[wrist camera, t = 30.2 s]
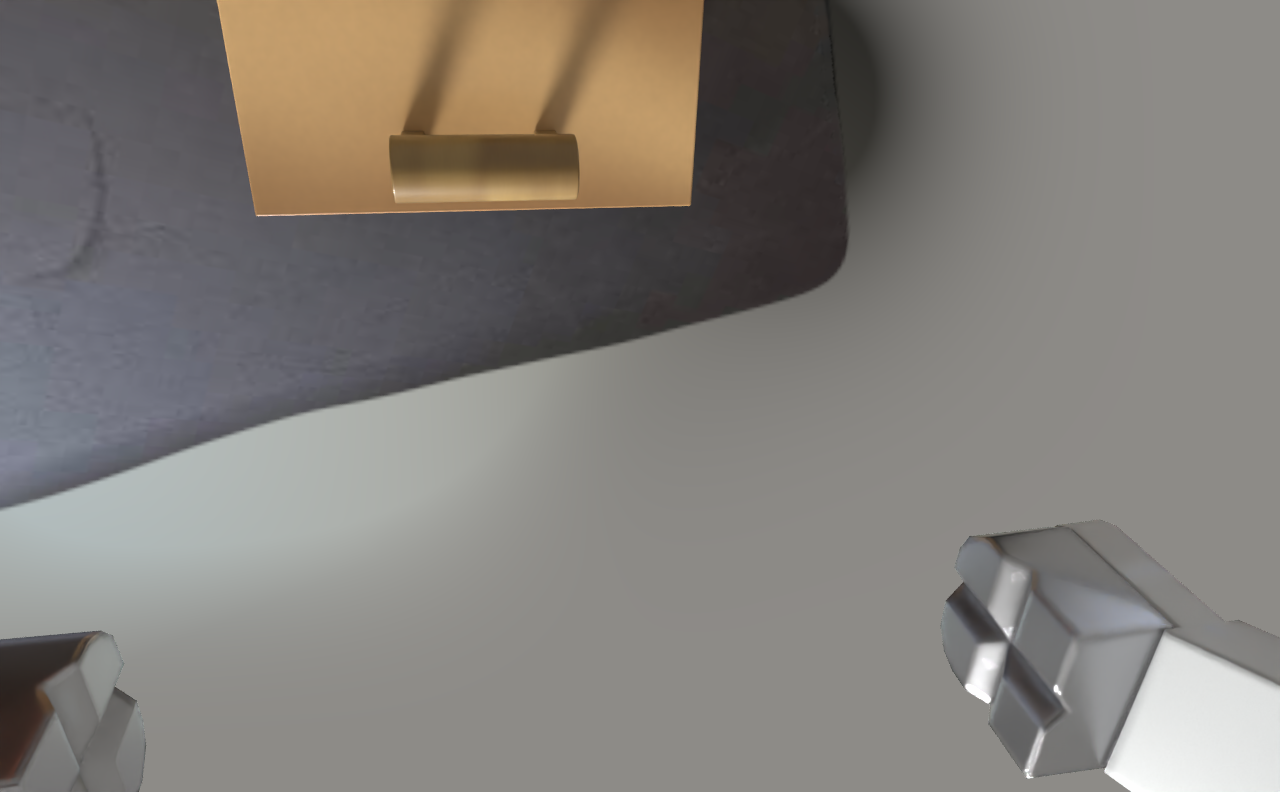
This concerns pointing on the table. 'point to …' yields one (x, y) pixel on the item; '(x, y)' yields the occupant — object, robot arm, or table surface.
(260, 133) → the lid
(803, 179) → the table surface
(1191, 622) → the robot arm
